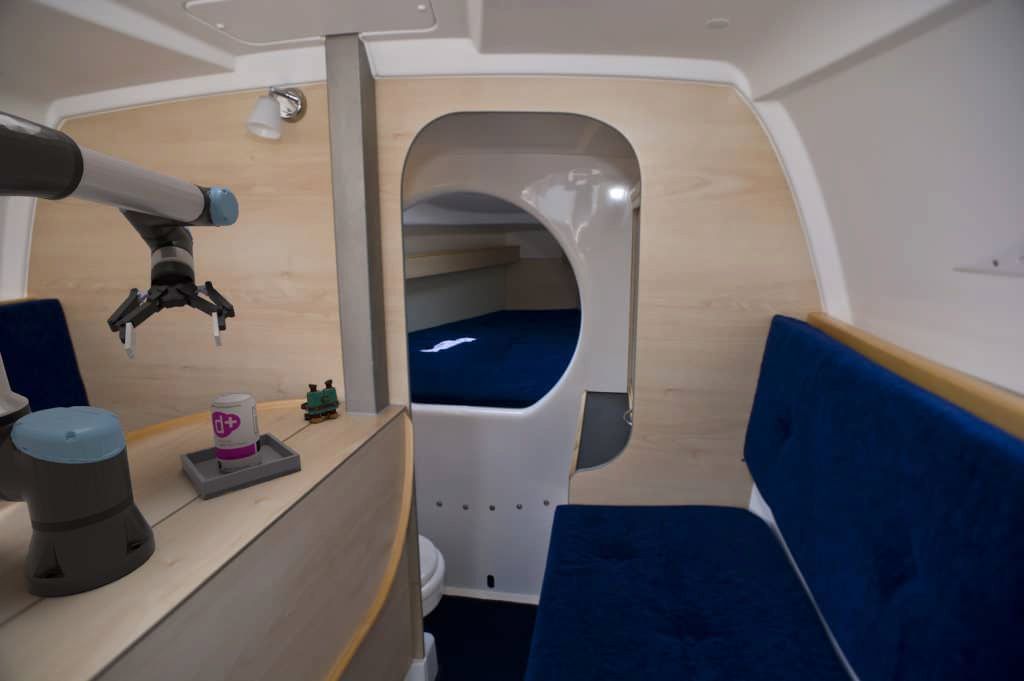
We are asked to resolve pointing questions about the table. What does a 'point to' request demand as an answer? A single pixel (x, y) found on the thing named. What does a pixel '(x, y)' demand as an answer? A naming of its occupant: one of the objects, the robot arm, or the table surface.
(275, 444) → the tray
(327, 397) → the binoculars
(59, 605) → the table surface
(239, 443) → the supplement can
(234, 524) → the table surface
